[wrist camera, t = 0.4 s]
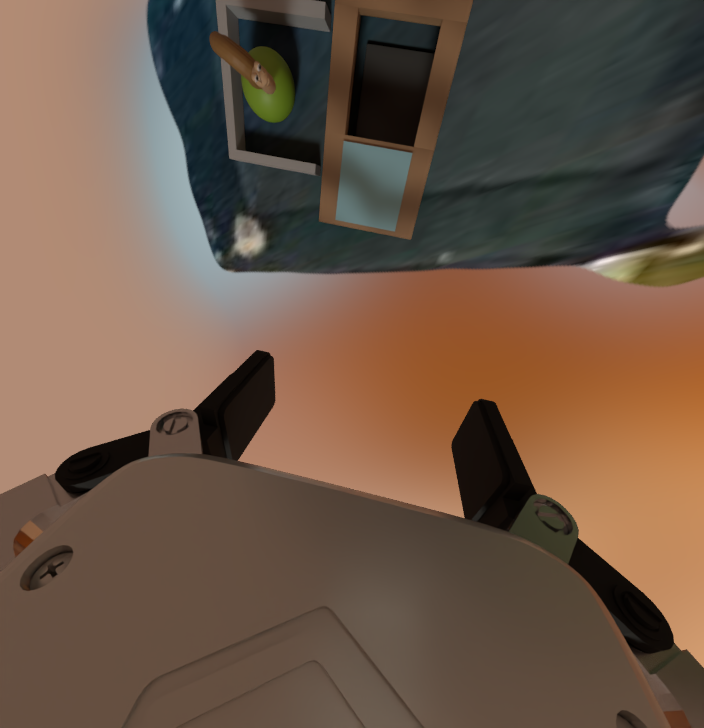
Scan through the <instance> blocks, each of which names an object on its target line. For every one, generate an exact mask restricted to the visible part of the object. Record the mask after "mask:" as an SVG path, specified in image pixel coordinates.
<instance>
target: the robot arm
mask: <svg viewBox="0 0 704 728" xmlns="http://www.w3.org/2000/svg"><path fill="white" fill-rule="evenodd" d="M274 380H275V379H274V358H273V357H272V356H271V355H270V353H269V352H264V351H259V350H256V351H255V352H254V353H253V354H252V355H251V356H250V357H249V358H248V359H247V360H246V361H245V362H244V363H243V364H242V365H241V366H240V367H239V368H238V369H237V370H236V371H235V372H234V373H232V374H231V375H229V376H228V377H227V378H226V379H225V380H224V381H223V382H222V383H221V384H220V385H219V386H218V387H217V388H216V389H215V390H214V391H213V392H212V393H211V394H210V395H209V396H208V397H207V398H206V399H205V400H204V401H203V402H202V403H201V404H199V405H198V407H196V408H195V410H193V411H192V410H188V409H176V410H172V411H169V412H166V413H164V414H162V415H161V416H159V417H158V418H157V419H156V420H155V421H154V422H153V423H152V426H151V429H150V430H148V431H145V432H142V433H138V434H135V435H131V436H128V437H124V438H121V439H118V440H114V441H111V442H108V443H104V444H101V445H97V446H94V447H90V448H87V449H85V450H82V451H80V452H78V453H76V454H74V455H72V456H71V457H69V458H68V459H67V460H65V461H64V462H63V463H62V464H61V465H60V466H59V467H58V469H57V471H56V473H55V474H53V475H50V476H49V477H48V476H47V475H46V474H43V475H41V476H39V477H37V478H35V479H32V480H30V481H28V482H26V483H24V484H22V485H20V486H17V487H15V488H13V489H11V490H9V491H7V492H4V493H3V494H0V728H704V668H703V667H702V666H701V665H700V664H699V662H698V661H697V660H696V659H695V658H694V657H693V656H692V655H691V654H690V653H689V652H688V651H687V650H682V651H681V650H680V649H679V648H678V647H677V646H676V644H675V643H674V639H673V633H672V631H671V628H670V626H669V624H668V622H667V621H666V619H665V617H664V616H663V615H662V613H661V612H660V610H659V609H658V608H657V607H656V605H655V604H654V603H653V602H652V601H651V600H650V599H649V598H648V597H647V596H646V595H645V594H644V593H643V592H641V591H640V590H639V589H638V588H637V587H635V586H634V585H633V584H632V583H631V582H630V581H628V580H627V579H626V578H625V577H624V576H622V575H621V574H620V573H619V572H618V571H617V570H615V569H614V568H613V567H612V566H611V565H609V564H608V563H607V562H606V561H605V560H604V559H602V558H601V557H600V556H599V555H598V554H596V553H595V552H594V551H593V550H592V549H590V548H589V547H588V546H587V545H586V544H585V543H583V542H582V541H581V540H580V539H579V538H578V531H579V530H578V527H577V524H576V522H575V520H574V518H573V517H572V515H571V514H570V513H569V512H568V511H567V510H566V509H565V508H564V507H563V506H562V505H561V504H560V503H558V502H557V501H555V500H553V499H552V498H550V497H547V496H545V495H540V494H537V493H536V491H535V489H534V486H533V484H532V482H531V480H530V478H529V476H528V473H527V471H526V469H525V467H524V464H523V462H522V460H521V458H520V455H519V453H518V451H517V449H516V447H515V445H514V443H513V440H512V439H511V436H510V434H509V432H508V430H507V428H506V425H505V423H504V421H503V419H502V417H501V414H500V412H499V410H498V408H497V405H496V403H495V402H493V401H488V400H484V399H479V400H478V401H474V402H473V404H472V406H471V407H470V409H469V411H468V413H467V415H466V417H465V419H464V421H463V422H462V424H461V426H460V428H459V430H458V431H457V434H456V435H455V437H454V439H453V441H452V452H453V458H454V463H455V469H456V474H457V479H458V485H459V490H460V495H461V501H462V506H463V511H464V517H465V518H461V517H457V516H454V515H450V514H447V513H443V512H439V511H435V510H431V509H427V508H424V507H419V506H416V505H412V504H408V503H404V502H400V501H397V500H393V499H389V498H385V497H381V496H377V495H373V494H369V493H365V492H361V491H357V490H354V489H350V488H345V487H342V486H338V485H334V484H329V483H326V482H322V481H318V480H314V479H310V478H306V477H302V476H298V475H294V474H290V473H285V472H281V471H277V470H274V469H270V468H266V467H261V466H257V465H253V464H248V463H244V462H240V461H238V459H239V458H240V456H241V455H242V453H243V452H244V450H245V449H246V447H247V446H248V444H249V443H250V441H251V440H252V438H253V436H254V435H255V433H256V432H257V430H258V429H259V427H260V426H261V424H262V423H263V421H264V420H265V418H266V417H267V415H268V413H269V412H270V411H271V409H272V408H273V406H274V403H275V382H274Z"/></svg>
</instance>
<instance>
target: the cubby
mask: <svg viewBox="0 0 704 728" xmlns="http://www.w3.org/2000/svg"><path fill="white" fill-rule="evenodd" d="M216 9H217V20H218V32H219V33H220V34H222V35H226V36H227V37H229V38H230V39H231V40H233V41H234V42H235V43H237V44H238V45H239V46H240V43H239V26H238V18H239V19H246V20H253V21H259V22H266V23H273V24H279V25H286V26H293V27H299V28H306V29H313V30H319V31H326V32H330V29H331V15H330V12H329V9H328V7H327V4H326V2H322V1H315V0H216ZM221 66H222V78H223V89H224V101H225V112H226V124H227V135H228V147H229V158H230V159H233V160H237V161H241V162H247V163H252V164H258V165H263V166H268V167H274V168H279V169H284V170H290V171H295V172H300V173H306V174H311V175H316V176H320V171H321V166H319V165H316V164H312V163H307V162H301V161H296V160H290V159H285V158H280V157H274V156H269V155H263V154H258V153H252V152H247V151H246V146H245V129H244V111H243V94H242V82H241V74H240V73H239V72H237V71H236V70H235V69H234V68H233V67H232V66H230V65H229V64H228V63H227V62H226V61H224V60H223V59H222V58H221Z"/></svg>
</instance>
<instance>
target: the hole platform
mask: <svg viewBox="0 0 704 728" xmlns="http://www.w3.org/2000/svg"><path fill="white" fill-rule="evenodd" d="M472 3H473V0H335V11H334V24H333V38H332V51H331V64H330V78H329V91H328V105H327V118H326V132H325V145H324V159H323V172H322V186H321V199H320V213H319V221H320V222H325V223H330V224H335V225H340V226H345V227H350V228H355V229H360V230H365V231H370V232H375V233H380V234H385V235H390V236H395V237H400V238H405V239H410V240H411V237H412V233H413V229H414V226H415V222H416V218H417V214H418V210H419V206H420V203H421V199H422V195H423V191H424V187H425V183H426V180H427V176H428V172H429V168H430V164H431V160H432V156H433V153H434V149H435V145H436V141H437V137H438V133H439V130H440V126H441V122H442V118H443V114H444V110H445V106H446V103H447V99H448V95H449V91H450V87H451V83H452V80H453V76H454V72H455V68H456V64H457V60H458V57H459V53H460V49H461V45H462V41H463V37H464V33H465V30H466V26H467V22H468V18H469V14H470V10H471V7H472ZM361 15H365V16H372V17H379V18H386V19H393V20H400V21H407V22H414V23H421V24H428V25H435V26H441V28H440V33H439V37H438V42H437V46H436V51H435V54H432V53H425V52H419V51H412V50H405V49H399V48H392V47H385V46H379V45H372V44H367V49H366V57H365V65H364V73H363V81H362V89H361V97H360V105H359V113H358V121H357V129H356V137H355V136H349V135H348V129H349V120H350V111H351V102H352V93H353V84H354V75H355V66H356V57H357V48H358V39H359V30H360V21H361Z"/></svg>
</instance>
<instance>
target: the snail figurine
mask: <svg viewBox="0 0 704 728" xmlns="http://www.w3.org/2000/svg"><path fill="white" fill-rule="evenodd" d="M210 44H211V47H212V49H213V50H214V52H215V53H216V54H217V55H219V56H220V57H221V58H222V59H223V60H224V61H226V62H227V63H228V64H229V65H230V66H232V67H233V68H234V69H235V70H236V71H237V72H239V73H240V74H241V82H242V88H243V92H244V95H245V97H246V100H247V102H248V104H249V105H250V107H251V108H252V110H253V111H254V112H255V113H256V114H257V115H258V116H259V117H260V118H262V119H264V120H265V121H268V122H273V123H276V122H280V121H283V120H284V119H285V118H287V117H288V115H289V114H290V112H291V111H292V108H293V105H294V101H295V85H294V80H293V77H292V74H291V71H290V69H289V67H288V65H287V63H286V62H285V60H284V59H283V58H282V57H281V56H280V55H279V54H278V53H277V52H276V51H274V50H273V49H271V48H268V47H264V46H260V47H256V48H253V49H252V50H251V51H249V53H248V52H247V51H246V50H244V49H243V48H242V47H241V46H239V45H238V44H237V43H235V42H234V41H233V40H231V39H230V38H229V37H227V36H226V35H222V34H220V33H218V32H216V31H214V32H212V33H211V34H210Z"/></svg>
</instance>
